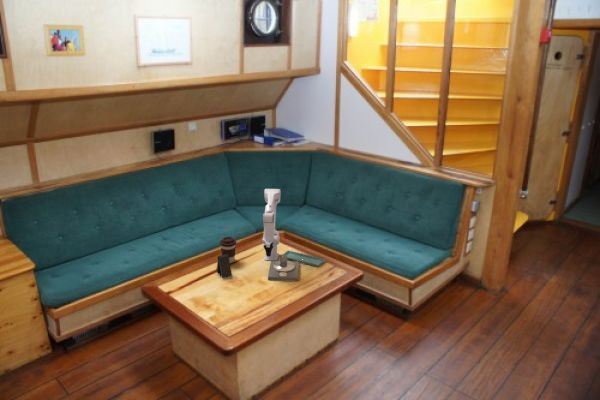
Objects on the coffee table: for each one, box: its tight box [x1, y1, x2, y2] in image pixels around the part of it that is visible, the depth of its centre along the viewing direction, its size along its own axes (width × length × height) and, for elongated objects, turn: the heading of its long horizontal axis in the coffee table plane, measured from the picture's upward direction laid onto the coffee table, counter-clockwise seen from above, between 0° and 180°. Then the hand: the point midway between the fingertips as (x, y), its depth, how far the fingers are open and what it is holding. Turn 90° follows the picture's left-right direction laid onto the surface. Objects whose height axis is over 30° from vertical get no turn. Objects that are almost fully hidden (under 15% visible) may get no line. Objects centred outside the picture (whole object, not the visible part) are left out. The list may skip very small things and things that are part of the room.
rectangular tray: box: [282, 250, 325, 268], centre depth 305 cm, size 26×9×2 cm, turn 63°
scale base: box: [267, 260, 300, 282], centre depth 290 cm, size 20×17×2 cm
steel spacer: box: [279, 254, 288, 267], centre depth 291 cm, size 4×4×6 cm
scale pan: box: [273, 260, 295, 272], centre depth 292 cm, size 13×13×1 cm
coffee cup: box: [219, 236, 237, 264], centre depth 300 cm, size 10×10×15 cm
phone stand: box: [216, 254, 233, 278], centre depth 286 cm, size 9×6×12 cm, turn 32°
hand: (269, 253), depth 290 cm, fingers open, 7 cm apart
